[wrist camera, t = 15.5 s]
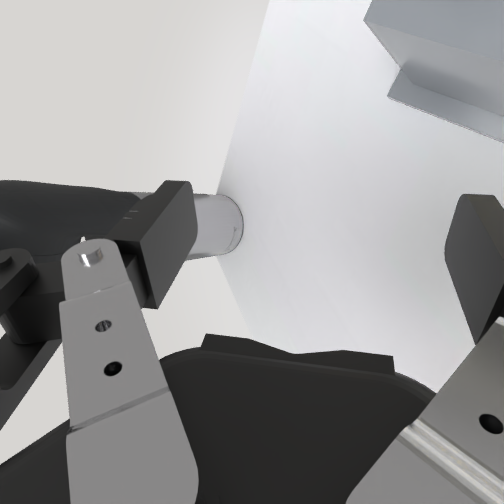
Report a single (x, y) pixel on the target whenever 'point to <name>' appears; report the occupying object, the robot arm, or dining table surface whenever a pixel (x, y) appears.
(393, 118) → the dining table surface
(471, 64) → the column
